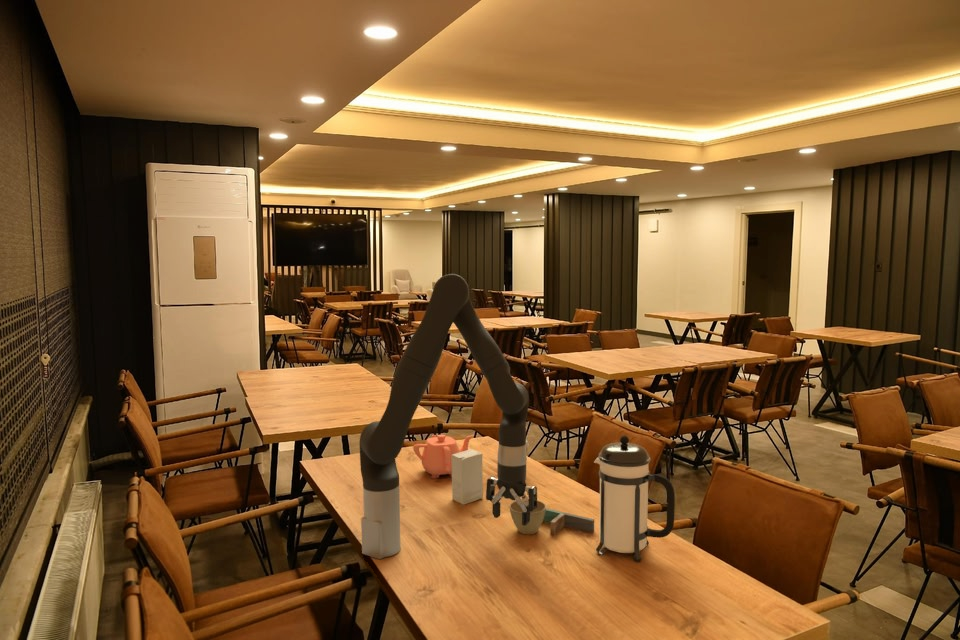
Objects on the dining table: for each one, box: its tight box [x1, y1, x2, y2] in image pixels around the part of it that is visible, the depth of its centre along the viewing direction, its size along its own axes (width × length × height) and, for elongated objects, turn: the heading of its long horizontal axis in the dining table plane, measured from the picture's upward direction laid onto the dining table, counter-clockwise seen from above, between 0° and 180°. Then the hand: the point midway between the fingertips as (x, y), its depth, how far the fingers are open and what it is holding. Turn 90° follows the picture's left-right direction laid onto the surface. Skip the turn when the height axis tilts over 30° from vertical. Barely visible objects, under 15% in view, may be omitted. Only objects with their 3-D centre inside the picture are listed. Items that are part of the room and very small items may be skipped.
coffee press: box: [593, 435, 676, 562], centre depth 162 cm, size 17×16×30 cm
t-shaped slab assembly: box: [542, 507, 595, 536], centre depth 176 cm, size 8×18×4 cm, turn 58°
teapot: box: [412, 434, 475, 479], centre depth 222 cm, size 16×17×14 cm
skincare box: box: [451, 448, 484, 505], centre depth 198 cm, size 8×6×15 cm
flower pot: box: [508, 498, 547, 535], centre depth 175 cm, size 10×10×7 cm
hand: (510, 520), depth 167 cm, fingers open, 8 cm apart
